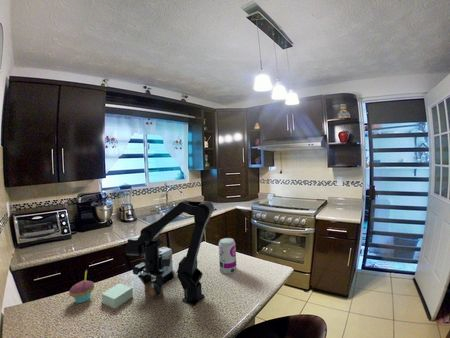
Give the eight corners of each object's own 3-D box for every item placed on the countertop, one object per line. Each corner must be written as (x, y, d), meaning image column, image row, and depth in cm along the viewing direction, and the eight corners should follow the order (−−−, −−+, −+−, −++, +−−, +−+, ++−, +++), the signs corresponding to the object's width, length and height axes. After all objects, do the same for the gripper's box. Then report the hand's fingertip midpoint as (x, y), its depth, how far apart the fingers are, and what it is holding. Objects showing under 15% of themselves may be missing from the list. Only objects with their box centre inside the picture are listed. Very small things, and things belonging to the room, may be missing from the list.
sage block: (132, 297, 88) (132, 287, 88) (114, 309, 81) (114, 299, 81) (120, 292, 92) (119, 283, 92) (102, 303, 85) (101, 293, 85)
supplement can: (239, 268, 107) (238, 239, 107) (231, 276, 100) (229, 244, 100) (225, 265, 112) (224, 236, 111) (216, 272, 105) (215, 242, 104)
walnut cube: (163, 293, 89) (162, 281, 89) (153, 300, 85) (152, 288, 85) (154, 290, 92) (154, 278, 92) (145, 296, 88) (144, 284, 88)
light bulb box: (155, 279, 101) (154, 257, 100) (147, 275, 105) (145, 253, 104) (173, 269, 109) (172, 248, 109) (165, 266, 113) (164, 246, 113)
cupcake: (92, 290, 94) (90, 263, 93) (97, 298, 88) (95, 270, 87) (68, 300, 88) (66, 271, 87) (72, 309, 82) (69, 279, 81)
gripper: (182, 252, 90) (184, 288, 91) (152, 244, 100) (154, 277, 100) (161, 263, 80) (164, 304, 81) (130, 254, 90) (133, 290, 91)
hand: (153, 292), depth 89 cm, fingers closed on walnut cube, 5 cm apart
